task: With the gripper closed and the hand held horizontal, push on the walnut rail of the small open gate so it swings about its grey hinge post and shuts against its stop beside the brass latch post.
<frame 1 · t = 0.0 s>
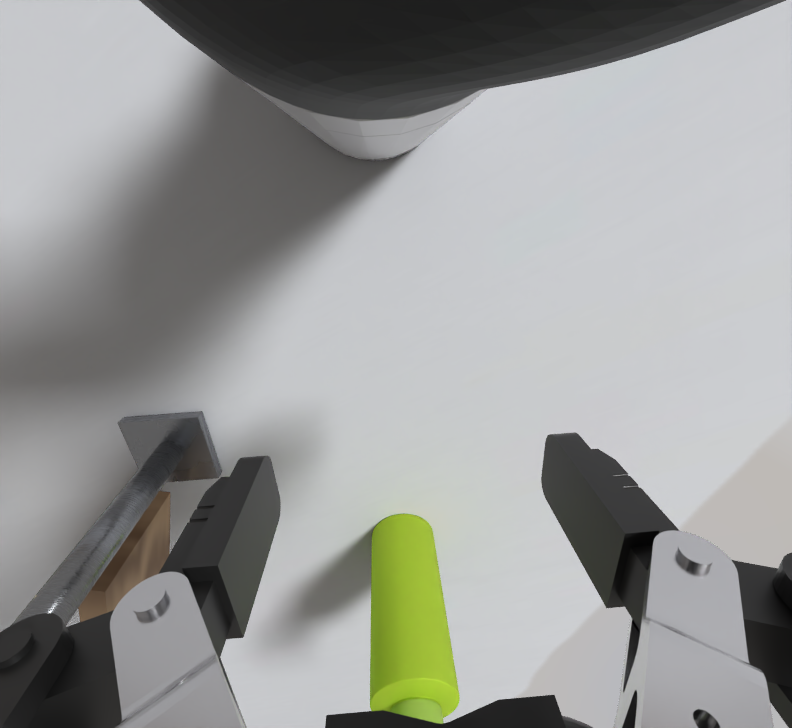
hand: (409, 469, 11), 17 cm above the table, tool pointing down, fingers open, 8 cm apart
soap dispenser: (404, 537, 37), on the table
hinge post: (175, 445, 31), on the table
gate: (125, 624, 29), point 8 cm above the table, hinge at 50.0°
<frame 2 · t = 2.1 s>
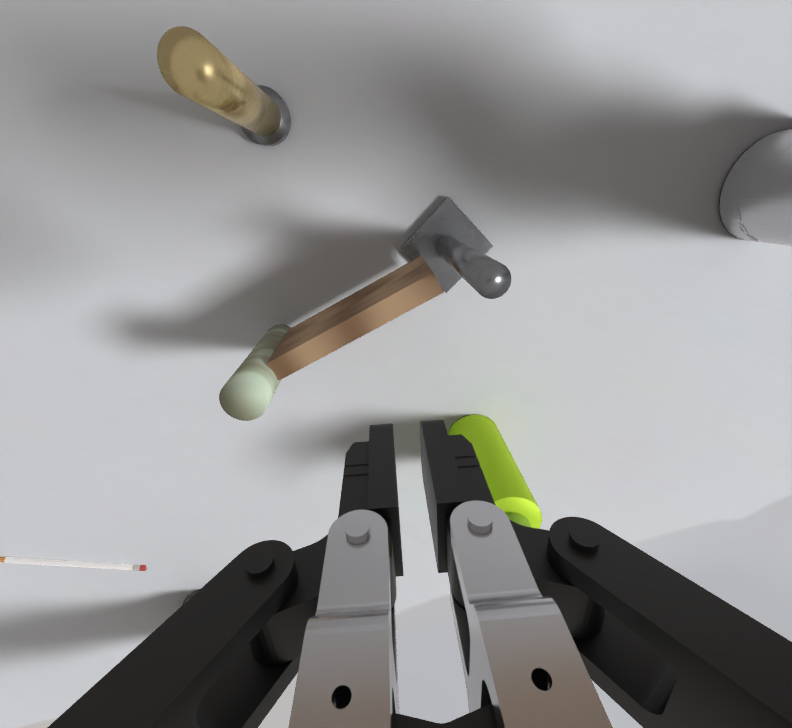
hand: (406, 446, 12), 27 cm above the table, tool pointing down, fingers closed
latch post: (265, 117, 31), on the table
pencil: (73, 559, 50), on the table
soap dispenser: (470, 438, 45), on the table
hinge post: (445, 246, 36), on the table
gate: (337, 326, 31), point 8 cm above the table, hinge at 50.0°
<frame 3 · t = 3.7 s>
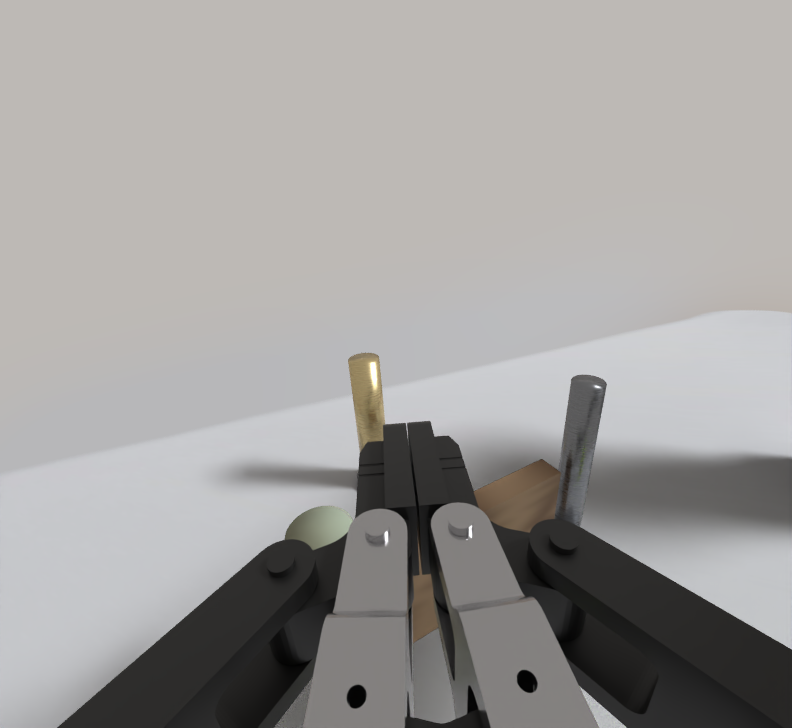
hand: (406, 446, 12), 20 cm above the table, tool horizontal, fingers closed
latch post: (376, 479, 41), on the table
hinge post: (559, 558, 31), on the table
gate: (444, 554, 23), point 8 cm above the table, hinge at 50.0°
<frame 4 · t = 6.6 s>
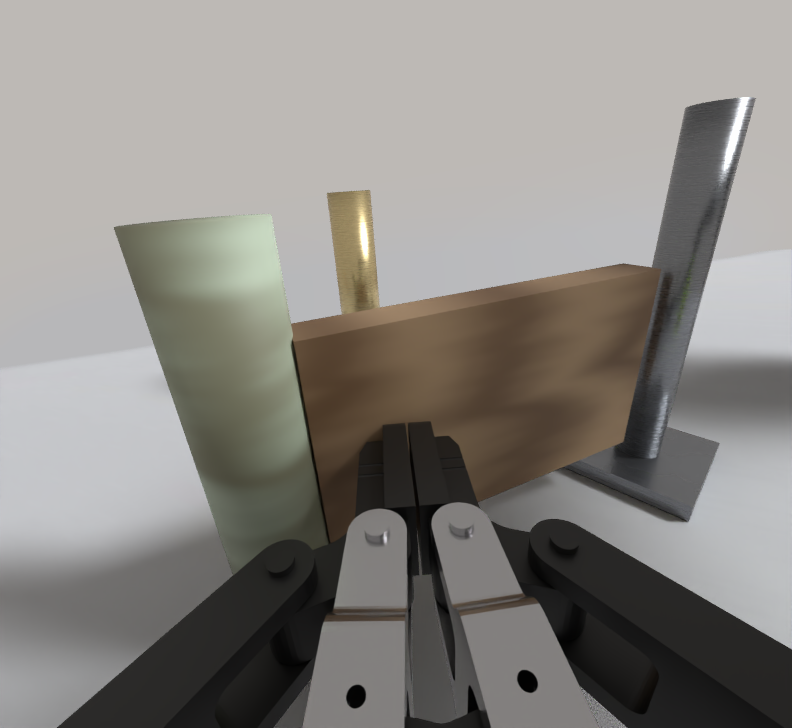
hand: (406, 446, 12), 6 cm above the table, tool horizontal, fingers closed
latch post: (368, 383, 31), on the table
hinge post: (633, 459, 20), on the table
gate: (458, 383, 14), point 8 cm above the table, hinge at 47.6°, touching gripper
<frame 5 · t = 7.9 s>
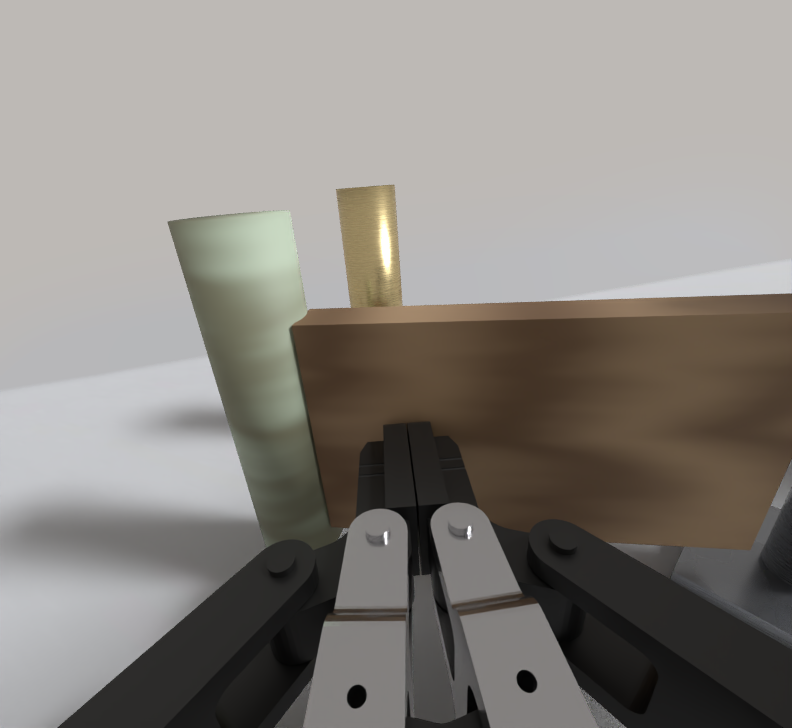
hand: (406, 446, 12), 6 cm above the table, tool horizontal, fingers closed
latch post: (388, 430, 24), on the table
hinge post: (791, 584, 14), on the table
gate: (480, 402, 12), point 8 cm above the table, hinge at 17.6°, touching gripper
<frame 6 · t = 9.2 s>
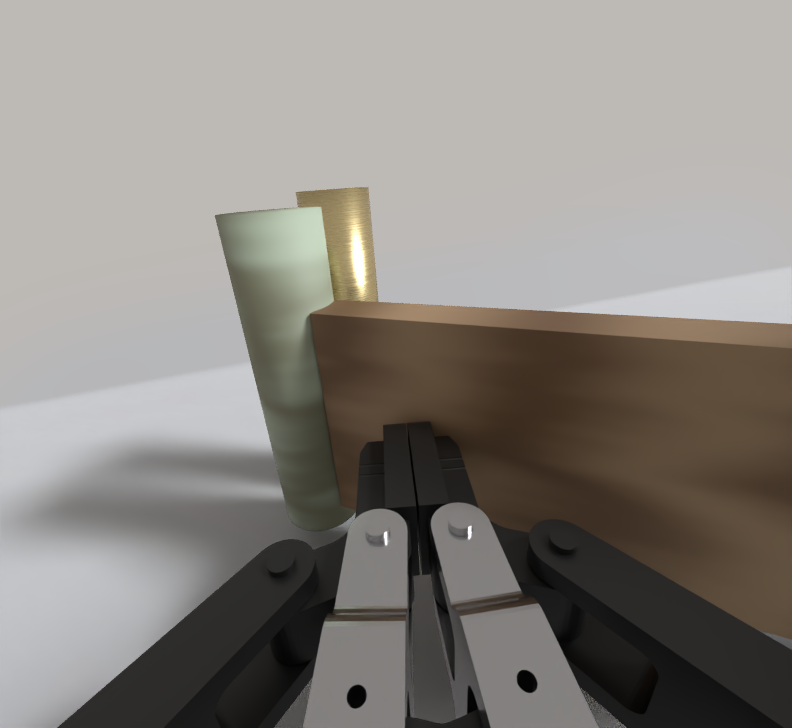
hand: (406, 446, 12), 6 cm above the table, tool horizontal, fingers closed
latch post: (367, 473, 21), on the table
gate: (487, 410, 12), point 8 cm above the table, hinge at -0.1°, touching gripper
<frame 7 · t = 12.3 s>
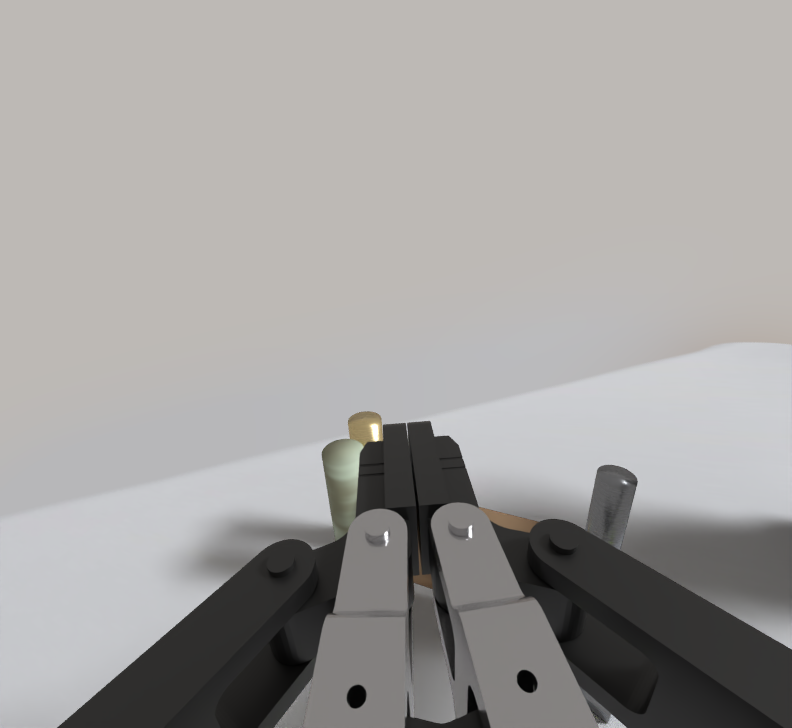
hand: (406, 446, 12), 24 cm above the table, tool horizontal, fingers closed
latch post: (376, 541, 38), on the table
hinge post: (577, 650, 28), on the table
gate: (431, 533, 29), point 8 cm above the table, hinge at -0.1°
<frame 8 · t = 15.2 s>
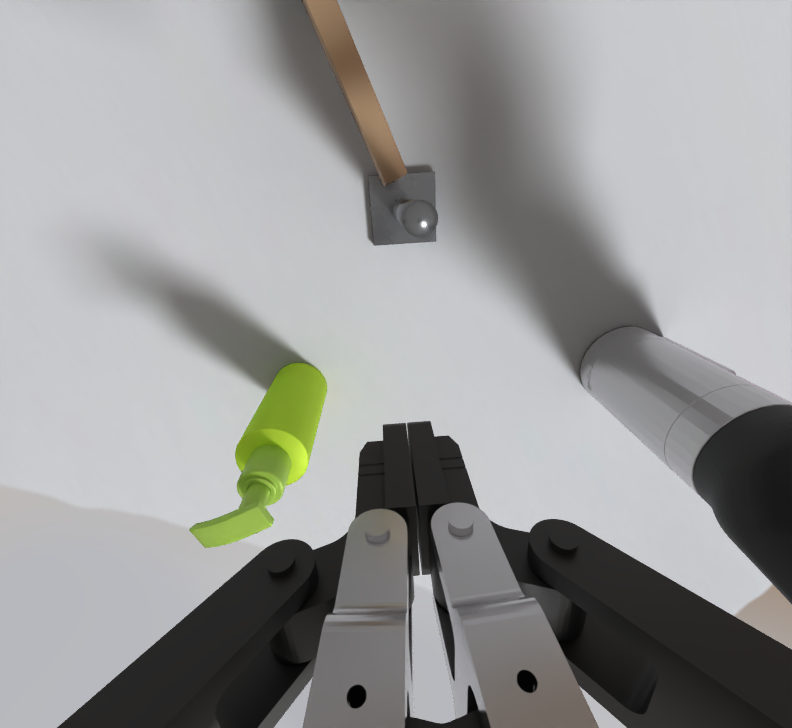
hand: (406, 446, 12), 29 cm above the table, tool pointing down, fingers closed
soap dispenser: (297, 387, 44), on the table
hinge post: (402, 209, 36), on the table
gate: (339, 50, 25), point 7 cm above the table, hinge at -0.1°
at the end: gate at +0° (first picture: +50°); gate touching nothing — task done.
